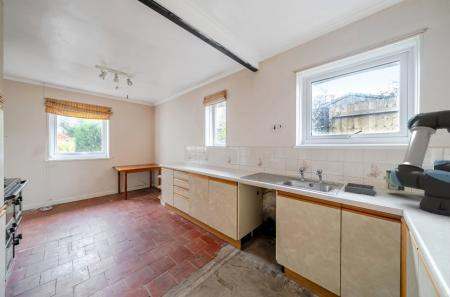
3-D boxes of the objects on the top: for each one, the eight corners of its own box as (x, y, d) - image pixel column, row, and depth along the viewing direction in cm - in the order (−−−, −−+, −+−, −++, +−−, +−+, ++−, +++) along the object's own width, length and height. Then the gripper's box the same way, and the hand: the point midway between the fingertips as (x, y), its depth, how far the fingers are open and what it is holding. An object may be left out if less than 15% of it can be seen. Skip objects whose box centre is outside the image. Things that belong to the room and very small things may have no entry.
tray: (374, 190, 137) (374, 185, 137) (373, 195, 124) (373, 190, 124) (347, 186, 150) (347, 182, 150) (344, 191, 137) (344, 186, 136)
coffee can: (401, 188, 129) (401, 170, 129) (407, 192, 120) (407, 172, 120) (383, 187, 134) (384, 169, 134) (388, 190, 125) (388, 171, 125)
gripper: (439, 189, 112) (399, 187, 117) (411, 182, 134) (378, 180, 139) (440, 178, 112) (400, 176, 117) (411, 172, 134) (378, 171, 139)
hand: (388, 178), depth 128 cm, fingers closed on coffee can, 10 cm apart
